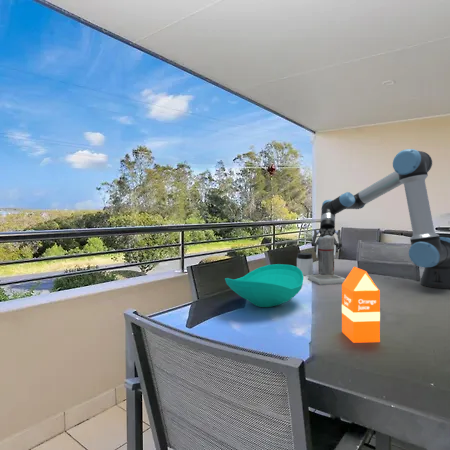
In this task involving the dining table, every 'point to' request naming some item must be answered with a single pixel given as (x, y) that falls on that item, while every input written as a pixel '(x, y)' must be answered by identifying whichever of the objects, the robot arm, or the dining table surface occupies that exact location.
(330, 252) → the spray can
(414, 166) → the robot arm
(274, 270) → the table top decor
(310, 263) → the jar
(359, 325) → the orange juice
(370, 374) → the dining table surface
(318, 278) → the tray
